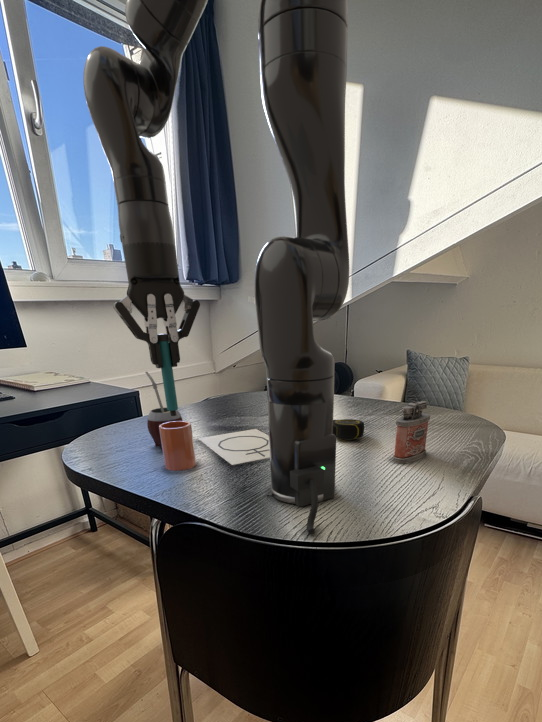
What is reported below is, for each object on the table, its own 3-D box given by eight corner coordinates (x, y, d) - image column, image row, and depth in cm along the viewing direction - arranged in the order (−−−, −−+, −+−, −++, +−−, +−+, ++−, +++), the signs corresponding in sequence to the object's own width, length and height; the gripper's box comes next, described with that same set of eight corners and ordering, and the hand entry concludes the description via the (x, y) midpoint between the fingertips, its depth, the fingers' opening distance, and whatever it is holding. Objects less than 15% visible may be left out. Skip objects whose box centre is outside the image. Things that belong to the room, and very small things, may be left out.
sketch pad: (299, 453, 80) (299, 450, 79) (232, 467, 74) (231, 464, 73) (255, 430, 96) (255, 428, 95) (198, 440, 90) (197, 437, 90)
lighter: (404, 464, 72) (409, 408, 68) (388, 460, 75) (392, 405, 70) (429, 454, 77) (436, 400, 73) (414, 450, 79) (419, 398, 75)
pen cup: (199, 469, 73) (194, 425, 70) (170, 475, 71) (163, 430, 68) (191, 460, 78) (185, 419, 74) (162, 466, 76) (155, 423, 72)
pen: (180, 415, 70) (169, 334, 65) (169, 417, 69) (157, 334, 64) (177, 413, 71) (166, 333, 66) (166, 415, 71) (154, 334, 65)
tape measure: (361, 433, 91) (362, 417, 89) (365, 442, 85) (366, 425, 83) (330, 434, 91) (330, 417, 90) (332, 443, 85) (332, 425, 83)
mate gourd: (178, 454, 82) (167, 376, 75) (141, 453, 83) (128, 376, 77) (191, 443, 88) (182, 371, 82) (157, 442, 90) (146, 371, 83)
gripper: (101, 237, 54) (127, 373, 61) (201, 241, 60) (214, 365, 67) (95, 246, 60) (119, 368, 67) (187, 248, 66) (199, 361, 73)
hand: (166, 366), depth 67 cm, fingers closed on pen, 2 cm apart
